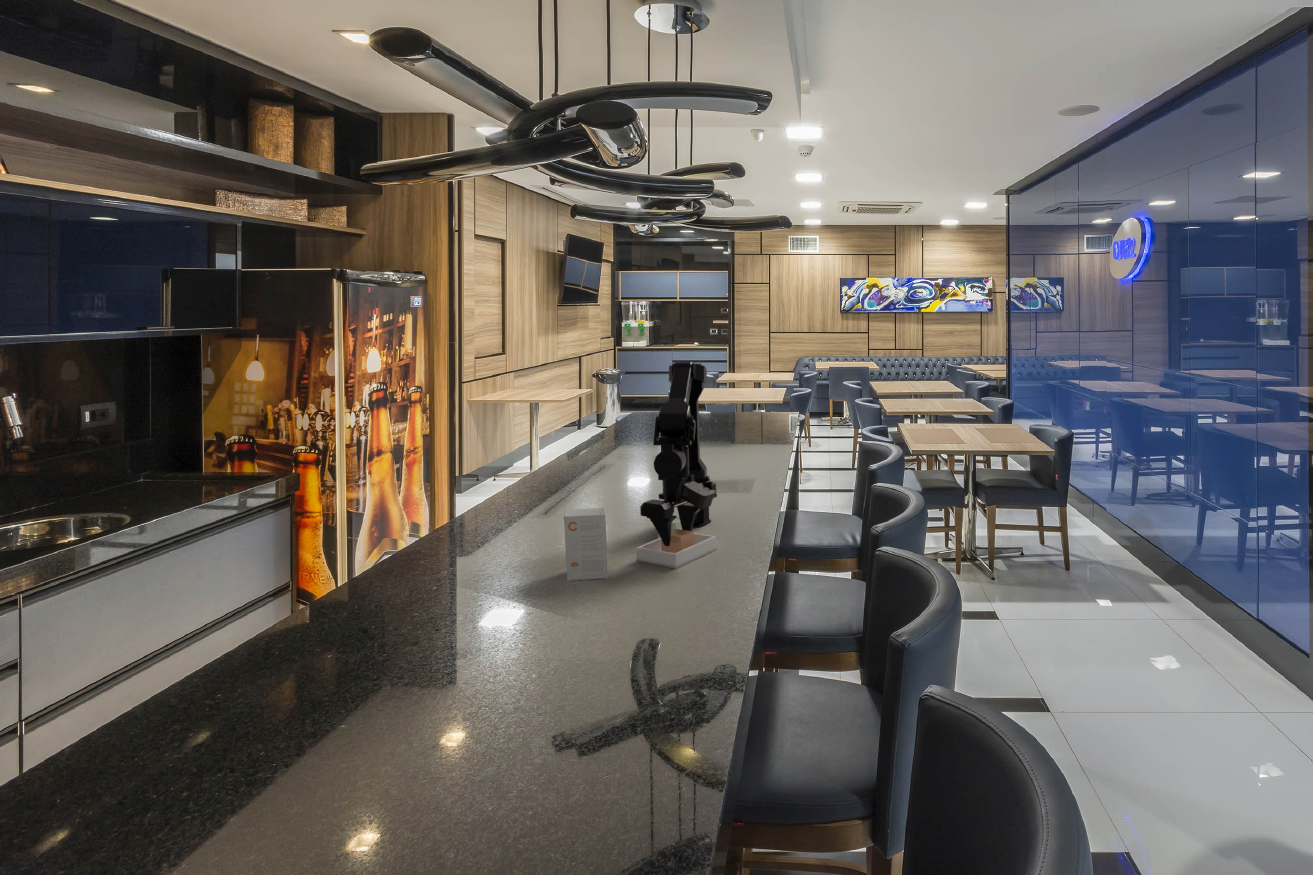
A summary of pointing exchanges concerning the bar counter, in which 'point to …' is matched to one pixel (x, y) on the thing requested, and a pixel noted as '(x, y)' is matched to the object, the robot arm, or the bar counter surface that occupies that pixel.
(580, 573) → the small box
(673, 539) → the brick
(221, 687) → the bar counter surface
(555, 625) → the bar counter surface
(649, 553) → the tote
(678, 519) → the pale green block
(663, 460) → the robot arm
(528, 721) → the bar counter surface
